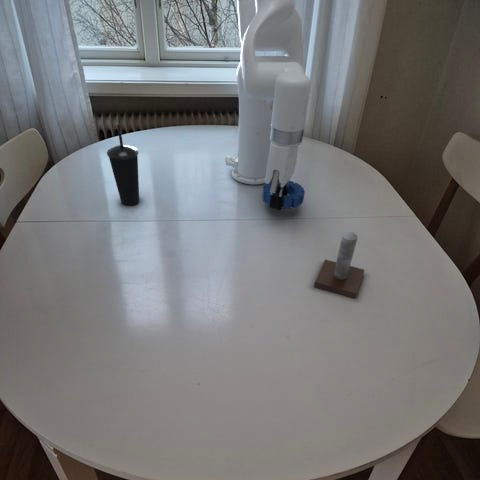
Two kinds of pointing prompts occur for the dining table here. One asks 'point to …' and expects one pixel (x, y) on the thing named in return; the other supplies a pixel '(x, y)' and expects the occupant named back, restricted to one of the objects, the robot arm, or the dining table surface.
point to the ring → (289, 200)
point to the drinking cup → (125, 171)
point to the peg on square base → (341, 270)
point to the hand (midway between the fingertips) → (278, 204)
